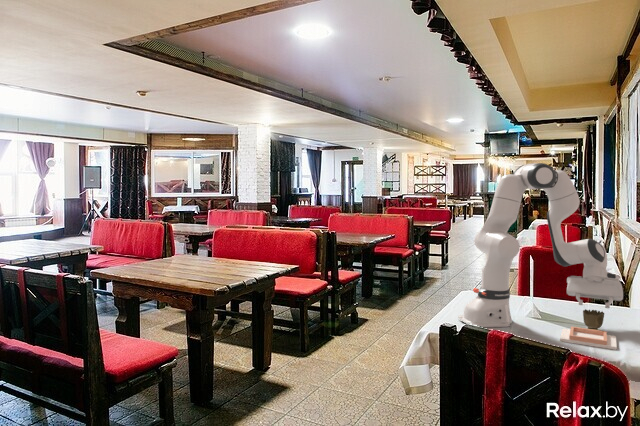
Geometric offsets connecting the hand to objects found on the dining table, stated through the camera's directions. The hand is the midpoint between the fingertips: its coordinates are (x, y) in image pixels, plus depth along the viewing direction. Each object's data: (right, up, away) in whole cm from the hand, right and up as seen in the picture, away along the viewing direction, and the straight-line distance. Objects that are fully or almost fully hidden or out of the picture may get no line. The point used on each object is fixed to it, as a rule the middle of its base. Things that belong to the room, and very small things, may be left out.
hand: (593, 306), depth 188 cm
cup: (-3, -10, -4) cm, 11 cm away
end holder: (-10, -10, -13) cm, 20 cm away
